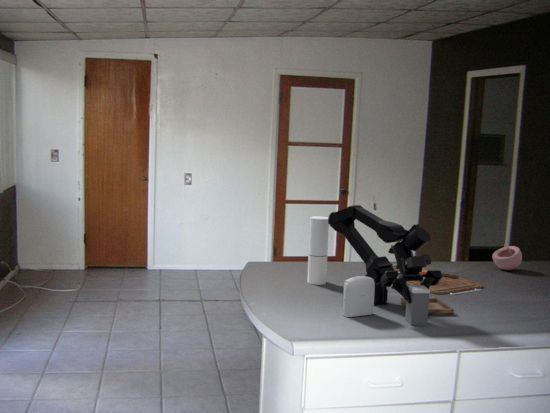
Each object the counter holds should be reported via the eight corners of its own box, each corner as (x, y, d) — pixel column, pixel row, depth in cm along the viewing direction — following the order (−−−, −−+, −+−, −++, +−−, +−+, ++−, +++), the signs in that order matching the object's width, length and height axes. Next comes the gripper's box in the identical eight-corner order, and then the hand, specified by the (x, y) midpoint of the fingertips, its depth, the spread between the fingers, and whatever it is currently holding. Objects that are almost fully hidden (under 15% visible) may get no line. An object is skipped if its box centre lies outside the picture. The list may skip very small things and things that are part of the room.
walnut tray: (415, 315, 177) (415, 309, 177) (400, 303, 190) (400, 297, 190) (453, 314, 179) (453, 309, 179) (436, 302, 192) (436, 297, 191)
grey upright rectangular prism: (410, 325, 167) (413, 289, 166) (404, 319, 172) (407, 285, 171) (427, 325, 168) (430, 290, 166) (420, 319, 173) (423, 285, 171)
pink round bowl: (485, 267, 250) (487, 242, 249) (507, 266, 254) (510, 241, 252) (504, 273, 239) (506, 247, 237) (526, 272, 242) (529, 246, 241)
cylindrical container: (326, 280, 216) (329, 216, 213) (325, 285, 209) (329, 219, 206) (307, 279, 217) (310, 215, 214) (306, 284, 210) (309, 218, 207)
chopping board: (361, 270, 238) (361, 263, 237) (407, 264, 251) (408, 258, 251) (440, 298, 199) (441, 290, 199) (490, 290, 213) (491, 282, 212)
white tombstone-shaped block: (347, 318, 171) (349, 279, 170) (340, 314, 175) (342, 276, 174) (375, 315, 176) (377, 277, 174) (367, 311, 180) (370, 273, 178)
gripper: (386, 245, 169) (399, 290, 160) (442, 244, 173) (458, 288, 164) (374, 264, 178) (386, 308, 168) (428, 263, 182) (442, 306, 172)
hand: (418, 302), depth 168 cm, fingers closed on grey upright rectangular prism, 5 cm apart
